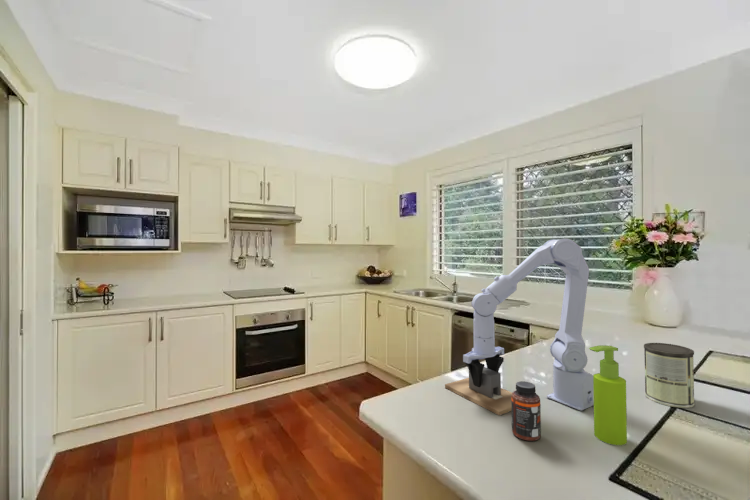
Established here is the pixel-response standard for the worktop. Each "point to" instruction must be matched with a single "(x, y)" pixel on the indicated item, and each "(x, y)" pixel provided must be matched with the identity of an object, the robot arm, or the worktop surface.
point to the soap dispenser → (609, 399)
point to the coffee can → (669, 374)
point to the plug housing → (488, 383)
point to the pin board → (482, 397)
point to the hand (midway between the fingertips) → (484, 383)
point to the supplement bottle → (526, 412)
